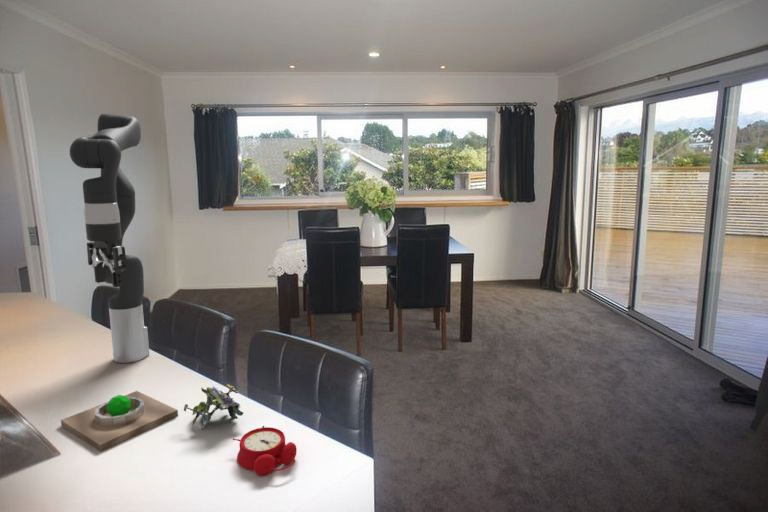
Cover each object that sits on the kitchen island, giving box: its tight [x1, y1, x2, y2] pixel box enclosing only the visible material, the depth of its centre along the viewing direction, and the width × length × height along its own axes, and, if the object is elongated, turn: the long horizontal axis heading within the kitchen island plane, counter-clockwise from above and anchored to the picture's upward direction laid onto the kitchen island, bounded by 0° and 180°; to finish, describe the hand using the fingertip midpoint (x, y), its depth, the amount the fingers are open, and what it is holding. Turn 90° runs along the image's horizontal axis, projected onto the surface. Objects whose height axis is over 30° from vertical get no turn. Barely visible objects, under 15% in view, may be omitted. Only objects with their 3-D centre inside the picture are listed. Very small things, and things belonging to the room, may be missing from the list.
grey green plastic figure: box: [183, 382, 244, 431], centre depth 111 cm, size 11×11×12 cm
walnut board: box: [60, 390, 179, 452], centre depth 112 cm, size 18×18×2 cm
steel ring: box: [94, 397, 144, 426], centre depth 112 cm, size 10×10×2 cm
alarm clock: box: [232, 425, 298, 477], centre depth 97 cm, size 10×6×15 cm
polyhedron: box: [107, 394, 131, 416], centre depth 111 cm, size 5×5×5 cm
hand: (109, 284), depth 120 cm, fingers open, 8 cm apart
